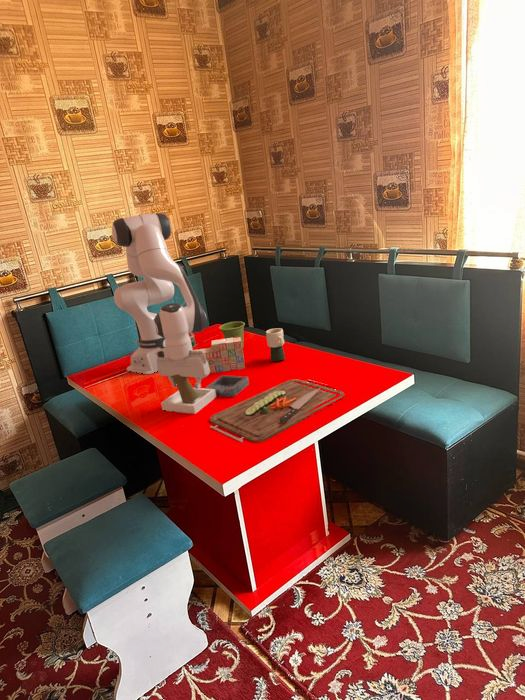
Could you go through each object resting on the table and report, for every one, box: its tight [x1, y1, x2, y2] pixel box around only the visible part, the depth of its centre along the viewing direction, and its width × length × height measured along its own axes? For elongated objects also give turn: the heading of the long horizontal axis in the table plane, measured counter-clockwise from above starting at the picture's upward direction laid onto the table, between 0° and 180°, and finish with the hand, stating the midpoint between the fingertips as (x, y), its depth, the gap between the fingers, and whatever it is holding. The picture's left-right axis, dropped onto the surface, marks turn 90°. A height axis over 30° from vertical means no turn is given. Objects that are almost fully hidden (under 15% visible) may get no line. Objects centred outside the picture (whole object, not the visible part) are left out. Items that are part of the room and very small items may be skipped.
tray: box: [160, 387, 217, 415], centre depth 182 cm, size 14×14×3 cm
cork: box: [173, 374, 199, 404], centre depth 180 cm, size 6×6×11 cm
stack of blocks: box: [193, 337, 246, 374], centre depth 211 cm, size 21×6×12 cm, turn 93°
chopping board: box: [209, 378, 345, 443], centre depth 169 cm, size 45×27×3 cm, turn 131°
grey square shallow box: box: [205, 375, 250, 398], centre depth 190 cm, size 12×12×3 cm
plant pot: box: [219, 321, 246, 349], centre depth 236 cm, size 12×12×11 cm
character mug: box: [265, 327, 286, 362], centre depth 212 cm, size 11×7×13 cm, turn 27°
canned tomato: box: [188, 333, 197, 348], centre depth 250 cm, size 8×8×11 cm
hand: (186, 387), depth 180 cm, fingers open, 8 cm apart
